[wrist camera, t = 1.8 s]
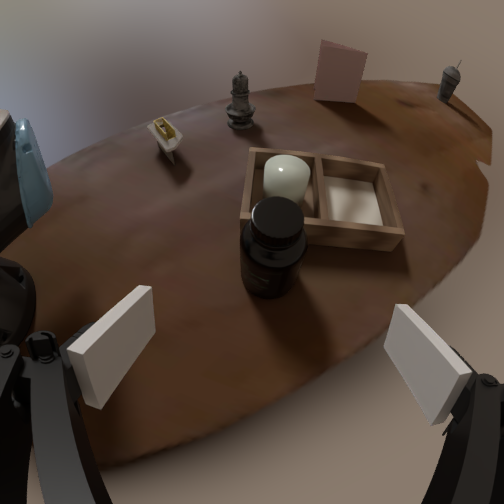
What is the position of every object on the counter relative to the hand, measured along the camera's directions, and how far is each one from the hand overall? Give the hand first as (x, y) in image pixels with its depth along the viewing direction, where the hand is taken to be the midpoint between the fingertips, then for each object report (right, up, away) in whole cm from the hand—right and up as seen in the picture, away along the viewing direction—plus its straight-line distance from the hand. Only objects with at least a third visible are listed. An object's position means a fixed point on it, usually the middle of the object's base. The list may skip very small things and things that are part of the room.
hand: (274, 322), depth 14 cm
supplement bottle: (+1, +1, +21) cm, 21 cm away
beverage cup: (+70, +60, +57) cm, 108 cm away
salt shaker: (-3, +30, +38) cm, 48 cm away
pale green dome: (+3, +11, +26) cm, 29 cm away
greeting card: (+19, +42, +45) cm, 64 cm away
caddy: (+9, +11, +27) cm, 30 cm away
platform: (-16, +21, +33) cm, 43 cm away
